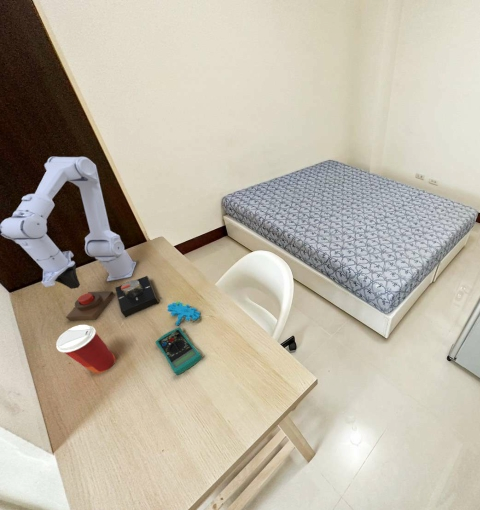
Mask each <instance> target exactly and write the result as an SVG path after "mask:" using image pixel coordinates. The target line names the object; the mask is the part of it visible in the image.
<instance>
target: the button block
mask: <svg viewBox="0 0 480 510" xmlns="http://www.w3.org/2000/svg"><path fill="white" fill-rule="evenodd" d="M87 293H90V294H92V296H93V297H94V300H93V301H92V302H90V303H88V304H85V305H82V304H81V303H80V302H79V301H78V299H76V301H75V302H74V307H73V308H72V310H71V311H70V312H69V313H68V314H67V315H66V316H65V318H66V319H67V320H68V321H69V322H83V321H85V322H86V321H97V319H98V318H99V317H100V316H101V314H102V313H103V311H105V309H107V307H108V305H110V303H111V301H112V300H113V299H114V298H115V297H116V293H114V292H113V291H112V290H105V291H104V290H103V291H88V292H87Z"/></svg>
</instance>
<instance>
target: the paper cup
mask: <svg viewBox="0 0 480 510" xmlns="http://www.w3.org/2000/svg"><path fill="white" fill-rule="evenodd" d="M55 344H56V346H55V347H56V349H57V351H58V352H60V353H64V354H65V355H67V356H68V357H70V358H71V359H73V360H74V361H75V362H77V363H78V364H80V365H81V366H83V367H84V368H86V369H87V370H88V371H90V372H92V373H93V374H102V373H104V372H106V371H108V370H110V369H111V368H112V367H113V366H114V364H115V362H116V357H115V355H114V353H113V352H112V351H111V349H110V348H109V347H108V346H107V344H106V343H105V342H104V340H103V339H102V338H101V337H100V336H99V335H98V333H97V331H96V328H95V327H94V326H91V325H88V324H79V325H75V326H73V327H70V328H69V329H67V330H66V331H64V332H63V333H61V334H60V336H58V338H57V340H56V343H55Z"/></svg>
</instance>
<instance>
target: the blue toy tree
mask: <svg viewBox="0 0 480 510" xmlns="http://www.w3.org/2000/svg"><path fill="white" fill-rule="evenodd" d="M166 311H167V312H169V313H170V316H172V317H176V316H177V317H176V319H177V320H176V322H175V325H176V326H179V325H180V323H181V322H182V320H183V319H184V321H187V322H190V320H191V321H197V319H200V317H201V314H200V311H198V310H197V308H196V307H191V305H190V304H184V303H183V302H181V301H180V300H176V302H172V303H169V304H168V305H167V310H166Z"/></svg>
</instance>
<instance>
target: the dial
mask: <svg viewBox="0 0 480 510" xmlns="http://www.w3.org/2000/svg"><path fill="white" fill-rule="evenodd" d="M121 290H122V291H123V292H124V294H125V295H126V296H127V297H128V298H133V297H136V296H139V295H140V294H141V293H142V292H143V287H142V286H141V284H140V283H139V281H137V279H132V280H128V281H125V282H124V283H123V284H122V287H121Z"/></svg>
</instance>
